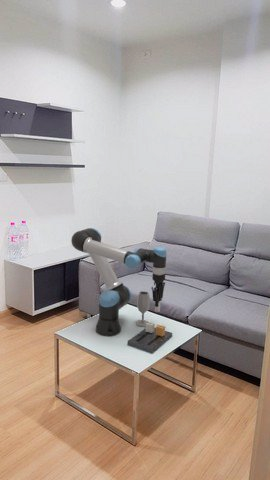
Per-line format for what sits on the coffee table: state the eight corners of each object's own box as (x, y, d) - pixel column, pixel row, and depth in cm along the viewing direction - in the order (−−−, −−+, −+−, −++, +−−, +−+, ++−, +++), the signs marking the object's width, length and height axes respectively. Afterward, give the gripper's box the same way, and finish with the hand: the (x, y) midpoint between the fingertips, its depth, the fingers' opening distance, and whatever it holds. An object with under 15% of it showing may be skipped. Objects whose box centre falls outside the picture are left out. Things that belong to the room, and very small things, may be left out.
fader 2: (155, 334, 210) (156, 326, 209) (158, 332, 213) (158, 324, 212) (162, 336, 208) (162, 328, 207) (164, 334, 211) (165, 326, 209)
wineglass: (148, 327, 225) (149, 295, 220) (134, 326, 226) (135, 294, 222) (150, 322, 233) (152, 291, 229) (137, 320, 235) (138, 289, 230)
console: (127, 344, 203) (127, 340, 202) (148, 329, 223) (149, 325, 222) (152, 353, 195) (152, 349, 194) (172, 336, 215) (172, 332, 214)
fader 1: (145, 331, 214) (145, 322, 213) (147, 329, 216) (148, 321, 215) (151, 333, 212) (152, 324, 211) (154, 331, 214) (154, 323, 213)
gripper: (159, 277, 206) (157, 316, 211) (169, 271, 217) (167, 309, 221) (147, 274, 210) (146, 313, 214) (158, 269, 220) (157, 306, 225)
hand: (157, 310), depth 218 cm, fingers closed
